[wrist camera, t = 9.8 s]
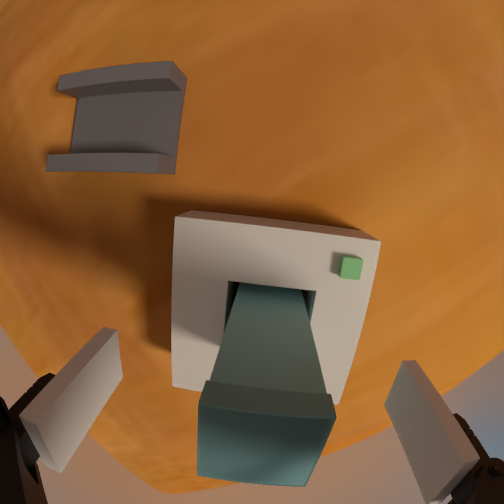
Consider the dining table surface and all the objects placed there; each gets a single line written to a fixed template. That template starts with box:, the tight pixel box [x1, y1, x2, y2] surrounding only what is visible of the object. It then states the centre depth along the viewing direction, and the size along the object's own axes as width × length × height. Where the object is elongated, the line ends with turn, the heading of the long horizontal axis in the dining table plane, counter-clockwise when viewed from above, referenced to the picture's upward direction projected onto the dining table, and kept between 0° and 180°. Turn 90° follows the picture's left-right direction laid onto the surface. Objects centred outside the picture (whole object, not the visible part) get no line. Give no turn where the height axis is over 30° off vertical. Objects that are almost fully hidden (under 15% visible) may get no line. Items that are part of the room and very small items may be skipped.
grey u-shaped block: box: [46, 61, 187, 174], centre depth 18 cm, size 9×7×4 cm
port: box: [171, 210, 381, 404], centre depth 20 cm, size 12×12×5 cm
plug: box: [197, 282, 336, 487], centre depth 15 cm, size 4×4×14 cm
